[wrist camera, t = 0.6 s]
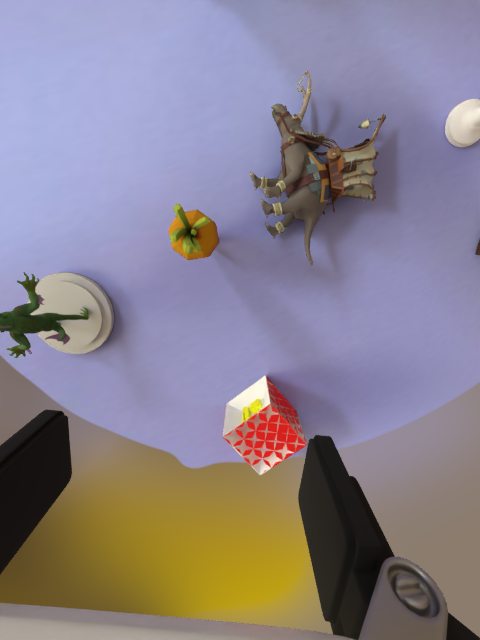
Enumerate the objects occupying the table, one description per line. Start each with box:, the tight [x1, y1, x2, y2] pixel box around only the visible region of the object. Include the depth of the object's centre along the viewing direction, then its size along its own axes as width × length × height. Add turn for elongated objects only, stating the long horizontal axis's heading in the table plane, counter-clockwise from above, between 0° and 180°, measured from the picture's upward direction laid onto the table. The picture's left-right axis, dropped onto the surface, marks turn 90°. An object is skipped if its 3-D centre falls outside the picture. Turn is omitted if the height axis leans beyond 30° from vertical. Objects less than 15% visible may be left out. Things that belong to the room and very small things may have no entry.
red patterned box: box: [223, 375, 307, 475], centre depth 39 cm, size 8×8×8 cm
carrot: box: [168, 204, 219, 260], centre depth 29 cm, size 5×5×15 cm
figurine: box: [250, 69, 386, 265], centre depth 32 cm, size 20×6×17 cm
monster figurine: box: [0, 272, 114, 358], centre depth 35 cm, size 12×12×10 cm
